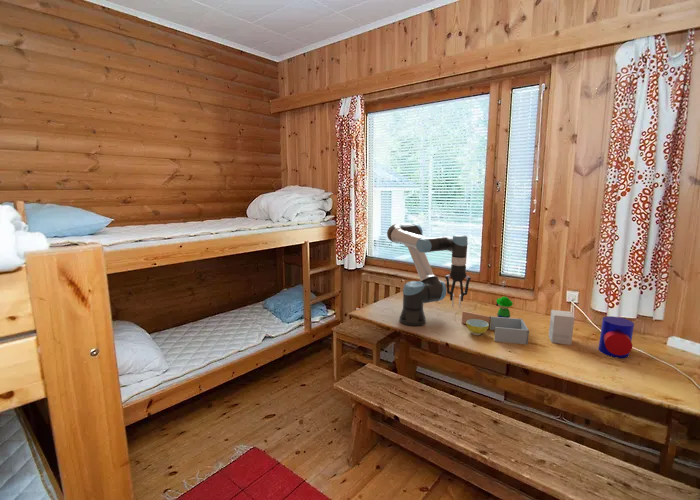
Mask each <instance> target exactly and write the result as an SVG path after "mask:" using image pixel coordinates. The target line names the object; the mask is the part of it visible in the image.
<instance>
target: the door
mask: <svg viewBox="0 0 700 500" xmlns="http://www.w3.org/2000/svg"><path fill="white" fill-rule="evenodd" d="M461 315H462V316H461V324H464V325H466V321H467V320H470V319H479V320H483V321H486V322H487V323H488V324H489V326H488V329H487V330H490V325H491V315H485V314H479V313H474V312H469V311H464V310H463V311H462V313H461Z"/></svg>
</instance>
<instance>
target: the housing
mask: <svg viewBox="0 0 700 500" xmlns="http://www.w3.org/2000/svg"><path fill="white" fill-rule="evenodd" d="M490 316H491V315H490ZM489 330H491V331H494V340H493V341H494V342H500V343H509V344H520V345H528V343H529V336H530V335H529V334H530V330H529V328H528V327H527V325H526V323H525V321H524V320H523V319H522V318H514V317H509V318H504V317H498V316H491V323H490V329H489Z"/></svg>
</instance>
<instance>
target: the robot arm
mask: <svg viewBox="0 0 700 500" xmlns="http://www.w3.org/2000/svg"><path fill="white" fill-rule="evenodd" d="M386 235H387V236H386V237H387V239H388V240H389V241H390V242H392V243H395V244H399V243H400V244H402V245H404V247H405V248H407V249H408V251H409V253H410V256H411V259H412V262H413V264H414V266H415V269H416V271H417V274H418V277H419V280H410V281H408V282H406V283H405V284H404V285H403V289H402V293H403V294H402V297H403V299H402V310H401V313H400V315H399V322H400V323H401V324H402V325H405V326H409V327H420V326H423V325H425V324H426V323H427V322H426V321H427V319H426V315H425V312H424V304H428V303H434V302H436V303H437V302H440V301H443V300H444V299H445V298H446V295H447V294H448V295H449V300H450V301H451V308H454V305H455V304H454V303H455V293H454V292H455V287H456V286H455V285H456V283H457V282H459V287H460V294H459V298H458V308H461V307H462V302H463V301H464V297H465V296H467V295H468V291H469V285H470V281H471V280H472V278H471V276H469V275H467V273H466V272H467V271H466V270H467V266H466V264H467V258H468V257H467V256H468V245H469V243H468V236H467V235H463V234H455V235H453V237H452V236H448V235H440V236H438V237H426V236H424V235H423V229H422V226H420V224H418V223H416V222H409V223H395V224H392V225H391V226H390V227H388V229H387V233H386ZM440 251H441V252H442V251H447V252H451V265H450V273H448V274H447V275H445V276H444V278H445V280H446V283H445V282H444V281H442V280H439V277H438V276H437V275H435V274H434V272H433V269H432V266H431V264H430V262H429V259H428V257H427V253H432V252H440ZM450 278H451V279H452V284H451V288H450ZM465 279H466V280H465ZM464 280H465V281H466V282H465V287H464V286H463V281H464Z"/></svg>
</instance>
